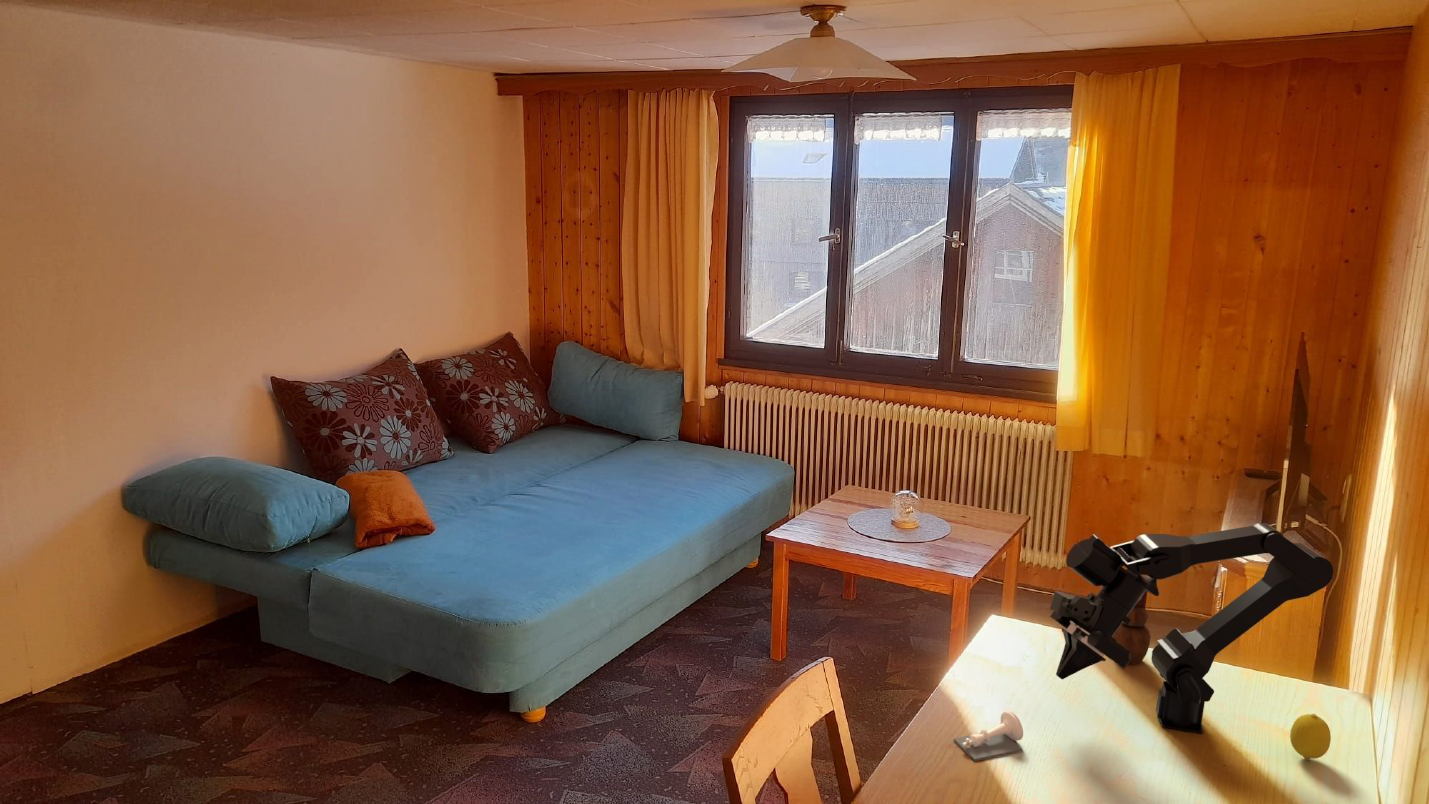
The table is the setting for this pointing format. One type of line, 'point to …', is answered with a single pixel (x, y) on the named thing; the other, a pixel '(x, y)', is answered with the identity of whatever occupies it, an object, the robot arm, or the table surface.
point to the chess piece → (999, 730)
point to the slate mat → (990, 747)
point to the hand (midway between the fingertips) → (1058, 677)
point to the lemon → (1310, 736)
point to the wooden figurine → (1135, 632)
